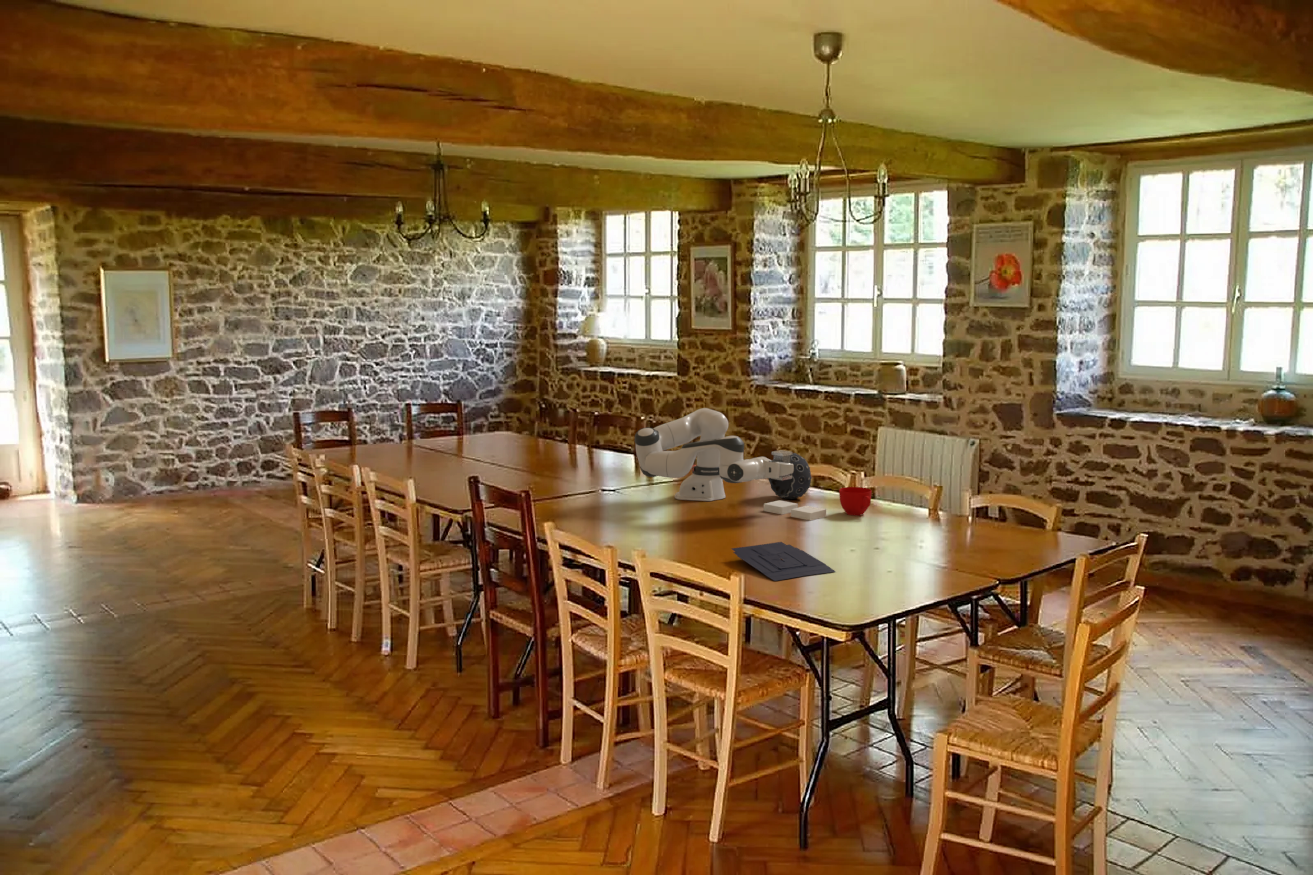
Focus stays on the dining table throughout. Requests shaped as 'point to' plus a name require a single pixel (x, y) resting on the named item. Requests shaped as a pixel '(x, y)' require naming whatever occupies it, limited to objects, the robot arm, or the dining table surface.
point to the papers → (781, 561)
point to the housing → (782, 457)
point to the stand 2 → (808, 513)
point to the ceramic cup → (855, 500)
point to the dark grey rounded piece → (793, 480)
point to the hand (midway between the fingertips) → (783, 463)
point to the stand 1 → (780, 507)
